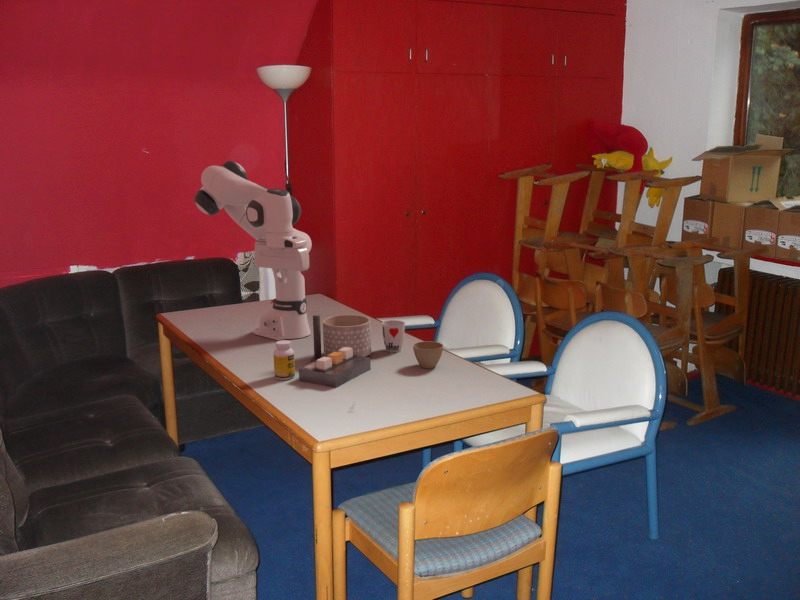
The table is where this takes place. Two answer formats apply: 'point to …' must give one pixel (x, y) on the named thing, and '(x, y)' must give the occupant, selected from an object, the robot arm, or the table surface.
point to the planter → (347, 334)
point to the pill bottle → (284, 360)
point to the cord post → (316, 338)
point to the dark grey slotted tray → (335, 371)
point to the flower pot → (428, 353)
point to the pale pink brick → (346, 352)
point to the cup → (393, 335)
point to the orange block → (336, 357)
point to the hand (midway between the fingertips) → (282, 282)
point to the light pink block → (324, 363)
